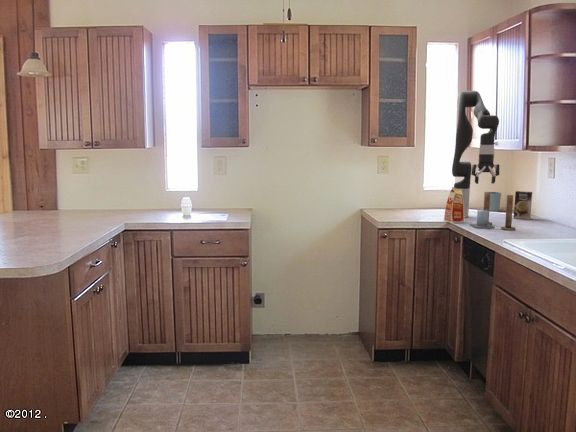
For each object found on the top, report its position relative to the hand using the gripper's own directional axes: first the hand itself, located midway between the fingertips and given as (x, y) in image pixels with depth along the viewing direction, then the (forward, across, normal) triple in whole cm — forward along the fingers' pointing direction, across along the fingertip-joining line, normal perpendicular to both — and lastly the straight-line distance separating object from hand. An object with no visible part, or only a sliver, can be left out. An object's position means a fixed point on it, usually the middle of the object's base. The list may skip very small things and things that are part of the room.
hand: (484, 183), depth 303 cm
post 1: (+23, -4, -6) cm, 25 cm away
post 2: (+23, -10, +10) cm, 27 cm away
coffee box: (+24, -34, -28) cm, 50 cm away
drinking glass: (+24, -29, -62) cm, 73 cm away
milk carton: (+24, +10, -17) cm, 31 cm away
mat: (+23, +1, +2) cm, 23 cm away
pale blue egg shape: (+22, +1, +2) cm, 23 cm away
